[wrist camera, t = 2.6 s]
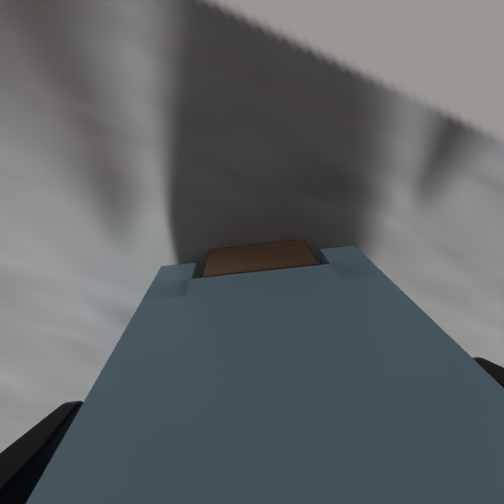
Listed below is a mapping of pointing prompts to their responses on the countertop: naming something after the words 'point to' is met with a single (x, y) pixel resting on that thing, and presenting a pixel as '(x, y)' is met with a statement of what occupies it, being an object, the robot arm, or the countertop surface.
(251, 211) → the countertop surface
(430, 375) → the block
